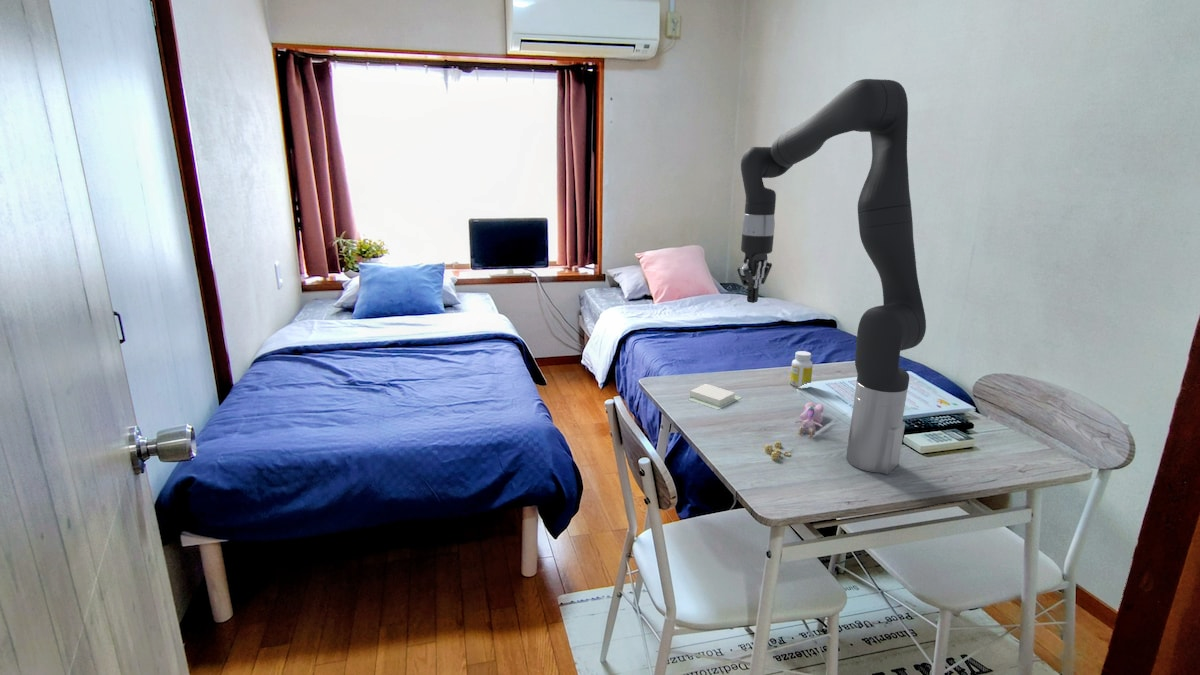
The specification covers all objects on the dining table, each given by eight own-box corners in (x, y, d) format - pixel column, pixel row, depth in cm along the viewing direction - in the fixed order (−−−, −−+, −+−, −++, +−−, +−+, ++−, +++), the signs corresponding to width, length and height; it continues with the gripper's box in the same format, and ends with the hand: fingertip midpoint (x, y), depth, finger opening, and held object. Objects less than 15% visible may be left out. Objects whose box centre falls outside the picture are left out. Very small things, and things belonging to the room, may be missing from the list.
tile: (719, 400, 149) (690, 390, 155) (719, 406, 149) (689, 396, 155) (735, 392, 153) (705, 383, 159) (734, 398, 154) (705, 389, 160)
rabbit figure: (819, 446, 133) (828, 412, 145) (821, 423, 131) (831, 390, 143) (790, 440, 136) (802, 407, 148) (792, 418, 133) (804, 386, 145)
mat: (777, 402, 153) (777, 400, 153) (744, 421, 142) (744, 418, 142) (718, 384, 165) (718, 382, 165) (682, 400, 154) (683, 398, 154)
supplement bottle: (811, 385, 165) (815, 351, 162) (809, 392, 160) (813, 357, 157) (790, 382, 167) (794, 349, 164) (788, 389, 162) (791, 354, 159)
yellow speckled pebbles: (773, 463, 124) (774, 455, 123) (758, 452, 128) (759, 444, 128) (793, 459, 125) (794, 451, 125) (778, 449, 130) (779, 441, 130)
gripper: (757, 236, 139) (751, 309, 144) (785, 231, 148) (778, 300, 153) (729, 233, 144) (724, 303, 149) (758, 229, 153) (752, 295, 158)
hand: (752, 301), depth 151 cm, fingers closed
